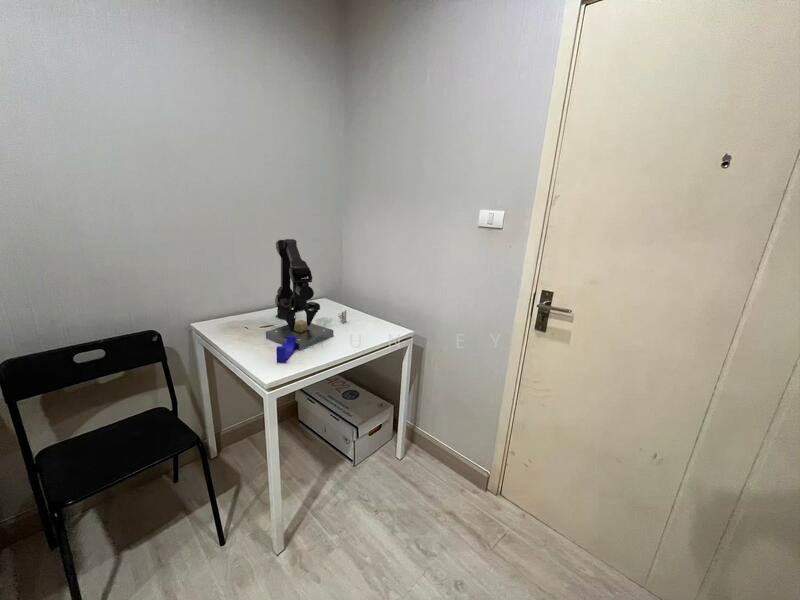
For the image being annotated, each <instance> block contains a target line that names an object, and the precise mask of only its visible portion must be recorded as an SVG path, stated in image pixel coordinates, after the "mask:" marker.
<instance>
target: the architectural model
mask: <svg viewBox="0 0 800 600" xmlns="http://www.w3.org/2000/svg"><path fill="white" fill-rule="evenodd" d="M337 316H338V319H337V320H338V322H340V323H341V324H346V323H347V310H344V311H341V313H338V315H337Z"/></svg>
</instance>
